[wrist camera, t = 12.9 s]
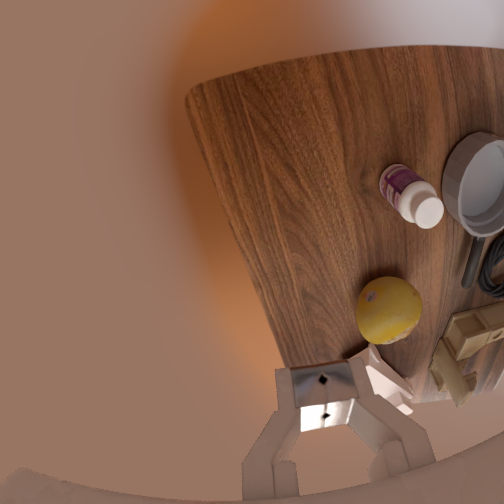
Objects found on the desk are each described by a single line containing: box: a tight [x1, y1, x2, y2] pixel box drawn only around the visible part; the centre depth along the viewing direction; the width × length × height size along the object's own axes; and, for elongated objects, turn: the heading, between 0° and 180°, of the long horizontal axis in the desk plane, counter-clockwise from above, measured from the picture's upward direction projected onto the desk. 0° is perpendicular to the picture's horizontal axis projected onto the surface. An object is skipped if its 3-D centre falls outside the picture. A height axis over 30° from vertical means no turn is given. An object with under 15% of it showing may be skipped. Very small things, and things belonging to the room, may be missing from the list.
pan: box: [442, 132, 504, 237], centre depth 37 cm, size 15×15×5 cm
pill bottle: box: [379, 164, 444, 229], centre depth 35 cm, size 5×5×10 cm
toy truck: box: [351, 343, 414, 415], centre depth 58 cm, size 25×7×9 cm, turn 43°
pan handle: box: [461, 236, 486, 289], centre depth 43 cm, size 11×2×2 cm, turn 6°
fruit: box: [356, 276, 422, 344], centre depth 45 cm, size 10×11×10 cm
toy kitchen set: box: [429, 301, 504, 408], centre depth 53 cm, size 18×17×15 cm
